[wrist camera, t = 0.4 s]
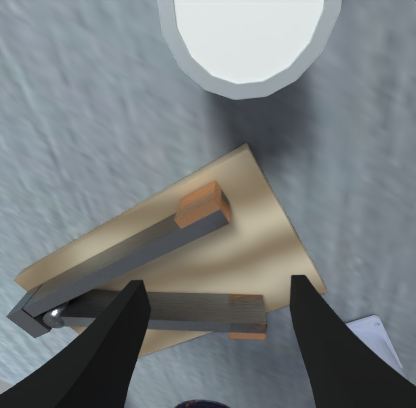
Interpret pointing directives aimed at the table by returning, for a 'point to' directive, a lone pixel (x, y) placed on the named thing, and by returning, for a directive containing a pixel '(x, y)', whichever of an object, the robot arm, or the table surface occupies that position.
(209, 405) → the storage jar
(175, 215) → the tongs fixed arm
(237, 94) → the white cup
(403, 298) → the table surface
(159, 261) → the board
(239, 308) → the arm
